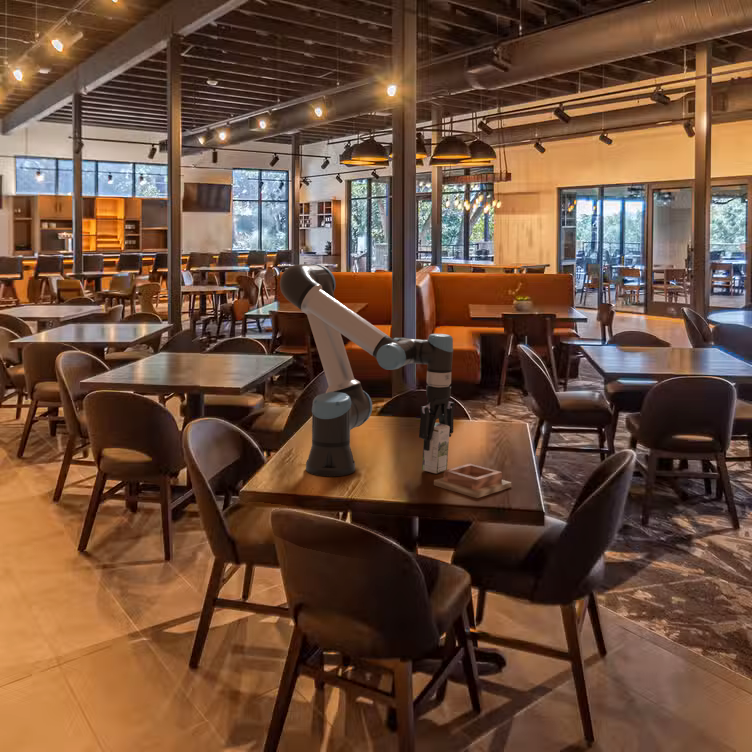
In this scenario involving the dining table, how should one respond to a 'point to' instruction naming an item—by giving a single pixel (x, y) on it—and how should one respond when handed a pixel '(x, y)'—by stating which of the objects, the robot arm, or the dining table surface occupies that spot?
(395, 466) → the dining table surface
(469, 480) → the socket board
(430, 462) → the syrup box
